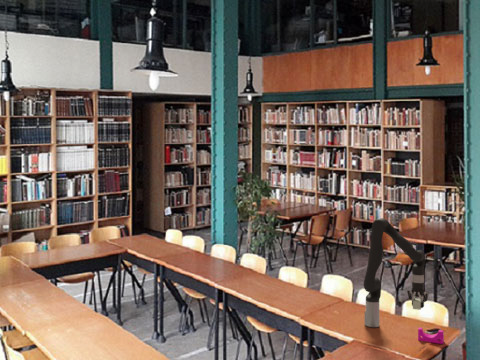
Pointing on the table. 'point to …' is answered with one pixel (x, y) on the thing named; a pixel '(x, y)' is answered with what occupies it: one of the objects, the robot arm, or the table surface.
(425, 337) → the toy block
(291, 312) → the table surface
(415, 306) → the green brick
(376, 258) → the robot arm
